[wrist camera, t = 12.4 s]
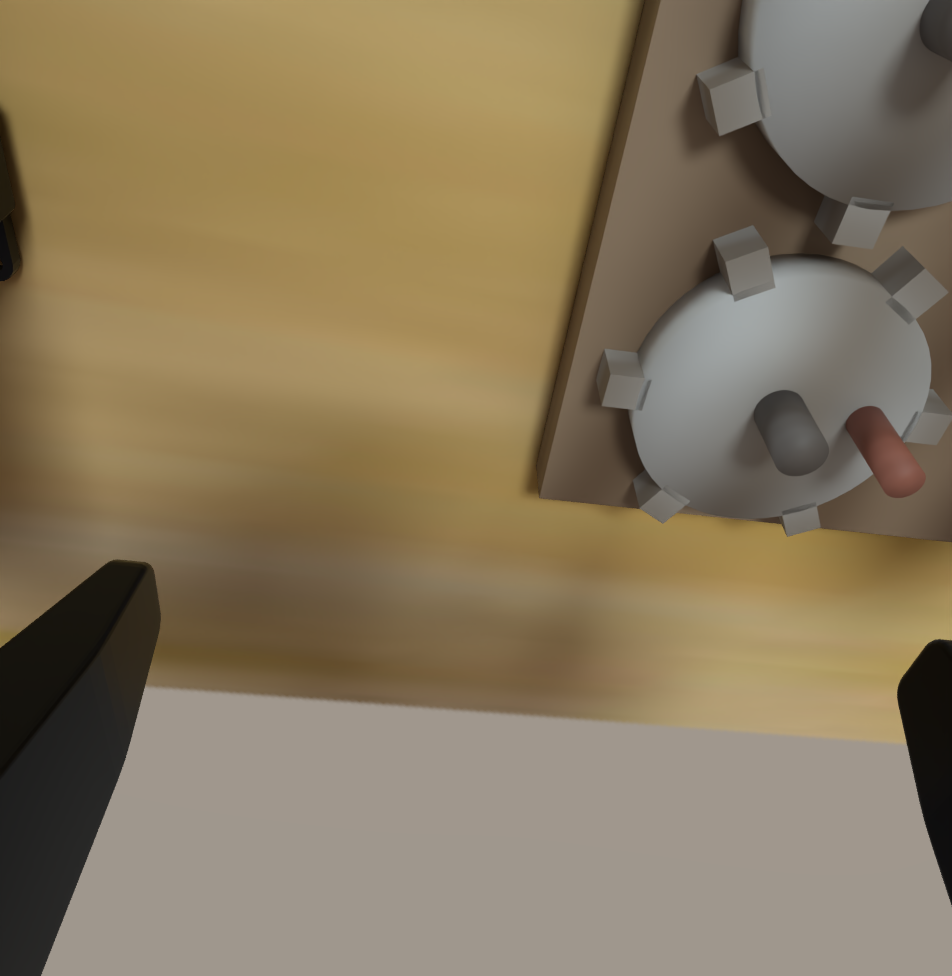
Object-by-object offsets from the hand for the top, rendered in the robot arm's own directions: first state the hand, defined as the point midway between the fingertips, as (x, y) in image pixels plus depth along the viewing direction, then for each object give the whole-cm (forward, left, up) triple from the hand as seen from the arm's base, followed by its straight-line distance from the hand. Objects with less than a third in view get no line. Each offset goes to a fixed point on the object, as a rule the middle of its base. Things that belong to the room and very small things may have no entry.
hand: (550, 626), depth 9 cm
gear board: (+11, +1, -13) cm, 17 cm away
